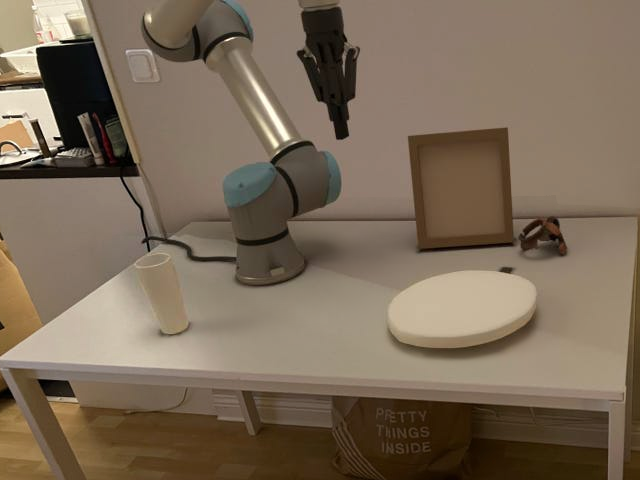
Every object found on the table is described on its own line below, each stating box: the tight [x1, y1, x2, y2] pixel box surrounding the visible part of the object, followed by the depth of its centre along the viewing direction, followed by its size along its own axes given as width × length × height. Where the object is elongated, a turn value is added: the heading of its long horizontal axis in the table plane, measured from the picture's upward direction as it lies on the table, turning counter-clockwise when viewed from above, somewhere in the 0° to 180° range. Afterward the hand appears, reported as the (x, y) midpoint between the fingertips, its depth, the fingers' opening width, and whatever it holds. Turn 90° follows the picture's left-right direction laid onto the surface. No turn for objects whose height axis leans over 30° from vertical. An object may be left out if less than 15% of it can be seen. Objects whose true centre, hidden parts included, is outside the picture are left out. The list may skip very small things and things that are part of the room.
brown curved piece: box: [517, 215, 568, 256], centre depth 157 cm, size 12×10×8 cm
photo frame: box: [407, 126, 515, 250], centre depth 163 cm, size 15×22×25 cm
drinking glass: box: [134, 252, 189, 335], centre depth 139 cm, size 7×7×15 cm
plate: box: [386, 269, 538, 349], centre depth 133 cm, size 28×6×27 cm
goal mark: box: [499, 266, 513, 274], centre depth 149 cm, size 2×8×1 cm, turn 158°
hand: (342, 137), depth 143 cm, fingers closed
